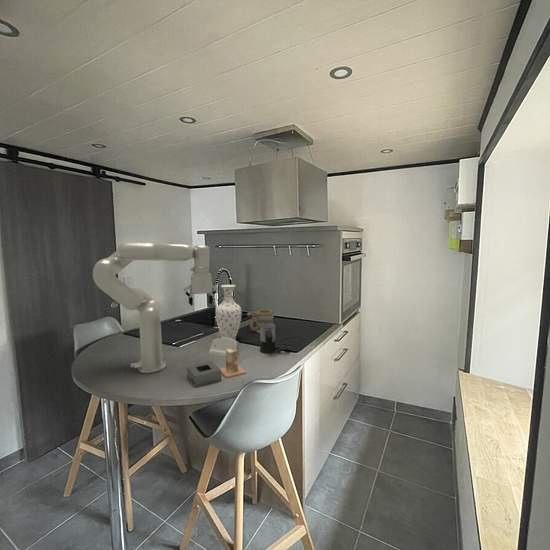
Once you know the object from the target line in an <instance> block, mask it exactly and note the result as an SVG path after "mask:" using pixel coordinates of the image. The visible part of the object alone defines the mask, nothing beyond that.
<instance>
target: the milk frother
mask: <svg viewBox="0 0 550 550" xmlns="http://www.w3.org/2000/svg"><path fill="white" fill-rule="evenodd" d="M276 327H277V325H276V324H262V325H260V333H259V334H260V335H259V336H260V337H259V339H260V340H259V341H260V343H259V345H260V347H259V351H260V352H261V353H264V354H272V353H275V352H277V351H278V352H279V351H284V350H285V351H284V352H287V351H288V350H290V349H291V347H288V346H286V345H285V346H283V347H281V348H277V349H276ZM286 350H287V351H286Z"/></svg>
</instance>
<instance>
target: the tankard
mask: <svg viewBox="0 0 550 550" xmlns="http://www.w3.org/2000/svg"><path fill="white" fill-rule="evenodd" d="M273 313H274V312H273V310H271V309H261V310H257V311H256V313H255V312H251V311H249V312H247V313H246V315H247V317H250V316H251V320H250V323H249V327H250V329H251V330H252V331H255V332H256V333H258V334H260V325H262V324H274V320H273V319H274V316H275V314H273ZM255 320H256V322H255ZM254 323H255V324H256V326H254ZM274 325H275V324H274Z"/></svg>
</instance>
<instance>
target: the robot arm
mask: <svg viewBox="0 0 550 550" xmlns="http://www.w3.org/2000/svg"><path fill="white" fill-rule="evenodd" d="M189 260H193V266H192V267H190V269H189V270H190V272H192V273H191V277H190V283H189V285H187V286H185V287H183V288H182V290H183V292H184V294H185V295H186V296H187V297H188V304H189V305H190V306H193V305H194V302H193V301H194V298H193V297H194V295H200V294H201V295H203V294H208V304H209V305H213V301H214V298H213V297H214V295H216V294H217V292H218V290H219V287H218V286H216V285H214V284H213V280H212V273H210V246H208V245H202V244H201V245H199V244H198V245H194V244H192V245H191V244H186V243H185V244H169V243H160V242H155V241H154V242H150V241H149V242H146V241H144V242H143V241H123V242H121V243H120V244H119V245H118V246H117V248H116V251H114V252H113V253H112V254H111V255H110V256H108V257H107V258H105V257H104V258H102V259H100V260H98V261H97V262H96V263H95V264H94V267H93V269H92V278H93V281H94V283H95V285H96V286H97V287H98V288H99V289H100V290H101V291H103V292H104V293H105V294H106V295H108V296H109V297H111V298H112V299H113V300H114V301H115V302H117V303H118V305H120V306H121V307H123V308H124V309H126V310H127V311H135V310H136V311H137V312H139V313H138V316H137V317H138V326H139V339H140V359H139V361H137V362H131V363H130V368H134V369H137V370H138V372H139V373H142V374H154V373H158V372H161V371H163V370H164V369H165V368H166V367H167V364H166V362H164V361H163V348H162V347H163V346H162V341H163V340H162V325H161V323H162V322H161V317H162V315H163V307H162V305H161V304H160V303H159V302H158V301H157V300H156V299H155V298H153V297H152V296H150V295H149V294H148V293H147V292H145V291H144V290H142V289H141V288H139V287H138V288H137V287H132V288H131V287H130V286H129V285H127V284H126V283H125V282H124V281H122V280H121V279H119V278H118V277H117V276H116V275H118V274H119V273H120V272H121V271H123V270H124V269H126V267H128V266H129V265H130V264H131V263H132V262H133V261H167V262H169V261H170V262H171V261H172V262H173V261H178V262H179V261H180V262H183V261H184V262H185V261H189ZM188 290H190V292H188Z"/></svg>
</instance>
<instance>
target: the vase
mask: <svg viewBox="0 0 550 550" xmlns="http://www.w3.org/2000/svg"><path fill="white" fill-rule="evenodd" d="M220 287H221V288H222V289H223V293H224V295H223V300H222V302H221V303H220V304H219V305H217V306H216V308H215V322H216V325H217V327H218V331H219V334H220V336H221V337H225V338H231V339H234V340H236V339H237V335H238V332H239V329H240V325H241V322H242V307H241V306H240V304H238V303H236V302H235V300H234V297H233V296H234V295H233V293H234V288H235V287H236V285H235V284H222V285H221V286H220ZM221 337H220V338H221ZM236 341H237V340H236Z"/></svg>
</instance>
